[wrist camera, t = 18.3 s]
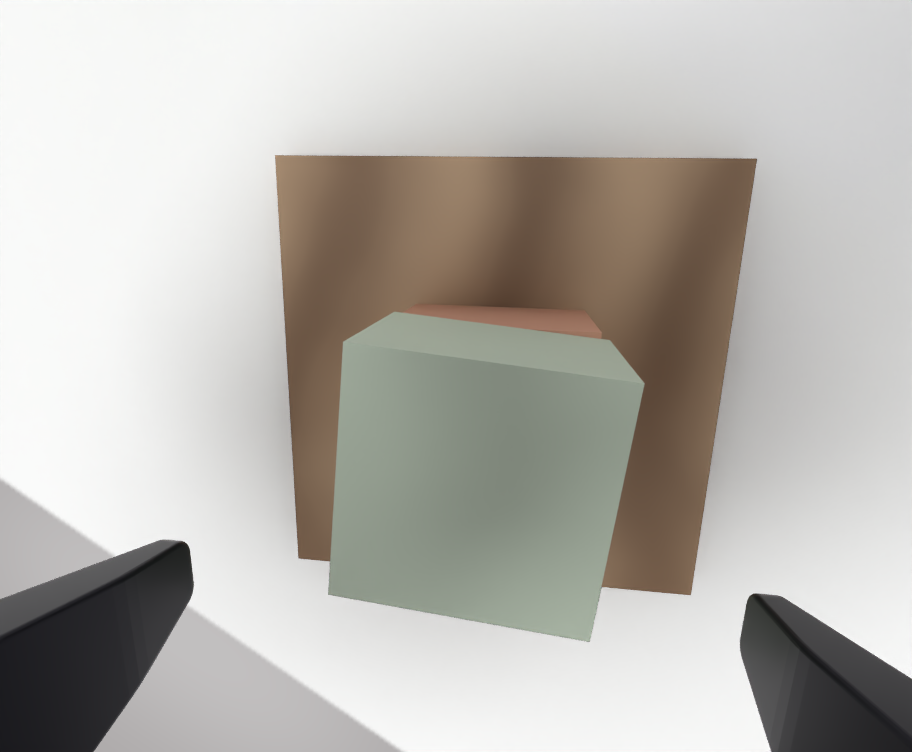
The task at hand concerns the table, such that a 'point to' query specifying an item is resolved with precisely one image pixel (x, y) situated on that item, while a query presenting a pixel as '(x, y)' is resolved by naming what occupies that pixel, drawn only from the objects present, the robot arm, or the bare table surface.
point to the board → (526, 302)
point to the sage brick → (480, 470)
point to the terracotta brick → (516, 318)
